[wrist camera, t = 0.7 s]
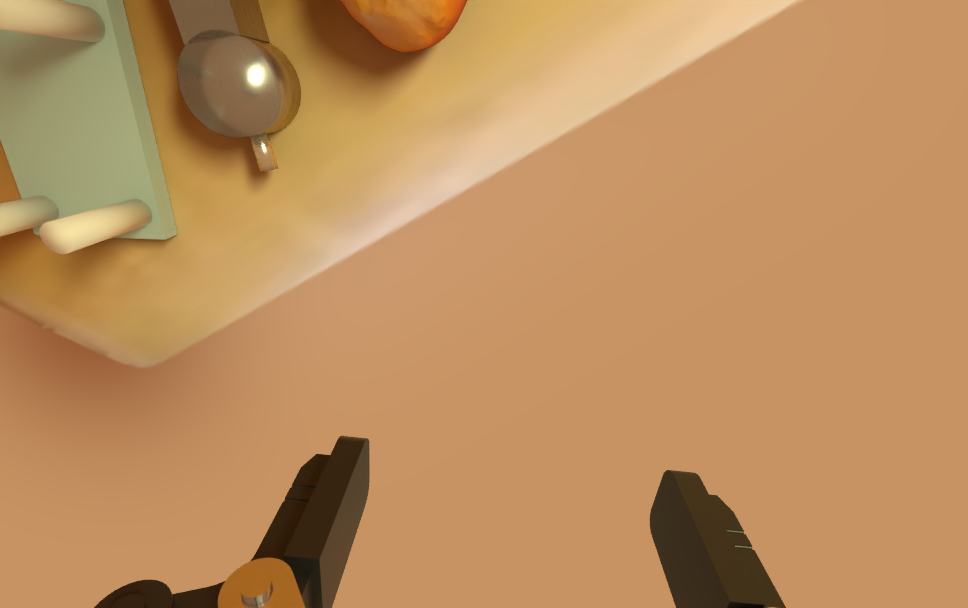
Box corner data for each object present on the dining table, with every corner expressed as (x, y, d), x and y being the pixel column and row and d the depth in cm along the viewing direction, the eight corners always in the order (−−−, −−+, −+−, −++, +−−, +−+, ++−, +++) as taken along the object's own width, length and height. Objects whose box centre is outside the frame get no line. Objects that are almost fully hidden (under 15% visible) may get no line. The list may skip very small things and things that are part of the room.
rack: (-31, -12, 31) (-212, -50, 23) (120, -7, 30) (-10, -44, 23) (51, 229, 37) (-68, 264, 29) (177, 234, 37) (91, 270, 29)
